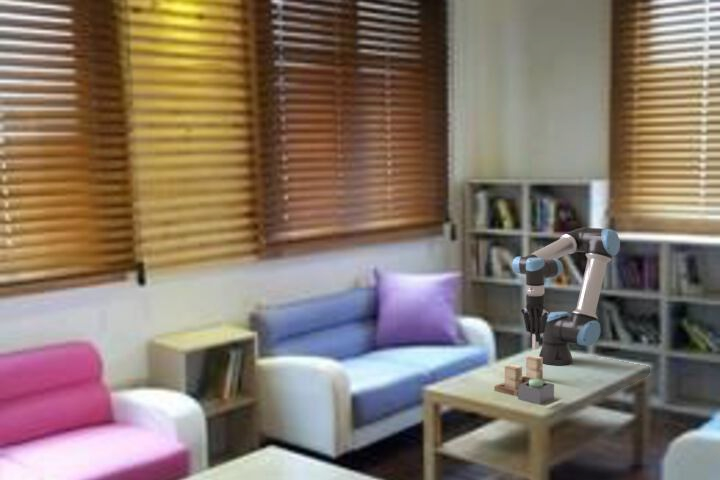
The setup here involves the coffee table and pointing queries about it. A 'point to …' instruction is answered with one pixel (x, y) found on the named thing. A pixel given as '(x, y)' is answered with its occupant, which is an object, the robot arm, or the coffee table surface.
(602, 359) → the coffee table surface
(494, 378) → the coffee table surface
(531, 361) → the billet
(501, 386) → the wooden divided tray
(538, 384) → the button
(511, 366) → the seated billet
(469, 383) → the coffee table surface
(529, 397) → the grey square bin
